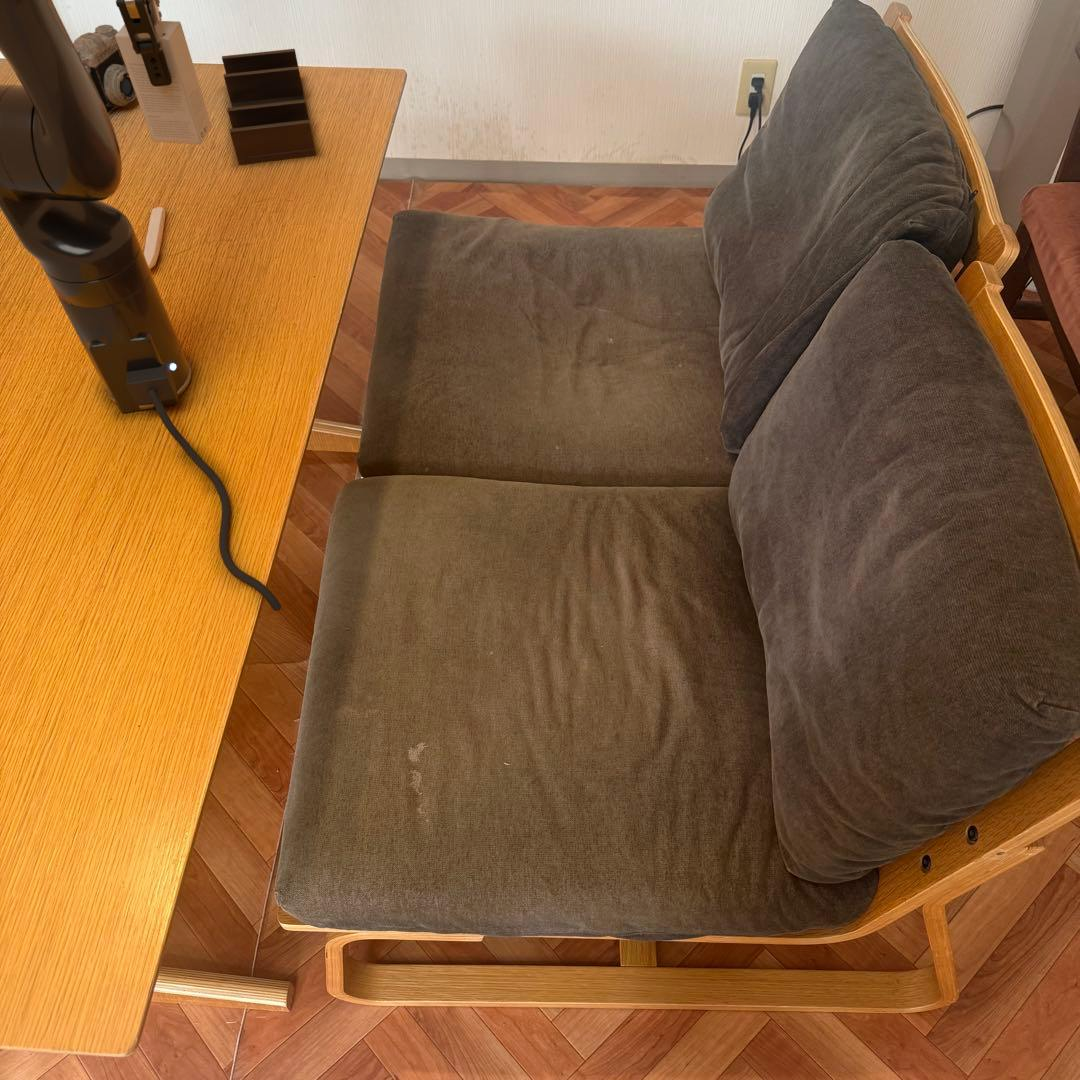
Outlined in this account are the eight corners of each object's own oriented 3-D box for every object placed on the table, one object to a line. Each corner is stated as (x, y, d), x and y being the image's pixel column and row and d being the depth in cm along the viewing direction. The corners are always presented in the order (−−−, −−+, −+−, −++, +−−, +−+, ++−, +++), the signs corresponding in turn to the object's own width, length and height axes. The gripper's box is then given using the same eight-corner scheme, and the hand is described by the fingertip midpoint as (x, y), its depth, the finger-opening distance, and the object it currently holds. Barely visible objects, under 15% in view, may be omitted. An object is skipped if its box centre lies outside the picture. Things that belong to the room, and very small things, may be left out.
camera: (104, 136, 131) (77, 67, 123) (64, 128, 132) (35, 59, 124) (159, 88, 139) (137, 20, 131) (121, 80, 141) (97, 13, 132)
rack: (316, 155, 129) (309, 122, 125) (238, 165, 128) (229, 131, 123) (301, 80, 142) (294, 48, 138) (230, 88, 140) (221, 55, 136)
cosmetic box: (213, 126, 106) (182, 20, 97) (201, 146, 104) (169, 39, 94) (163, 123, 107) (127, 17, 97) (151, 142, 104) (113, 35, 94)
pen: (144, 278, 112) (139, 267, 111) (156, 212, 121) (152, 201, 119) (157, 277, 113) (152, 266, 111) (168, 211, 121) (164, 200, 119)
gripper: (66, -132, 89) (127, 44, 103) (59, -75, 81) (126, 108, 95) (145, -138, 90) (194, 37, 104) (145, -82, 82) (199, 100, 96)
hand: (161, 70), depth 99 cm, fingers closed on cosmetic box, 5 cm apart
